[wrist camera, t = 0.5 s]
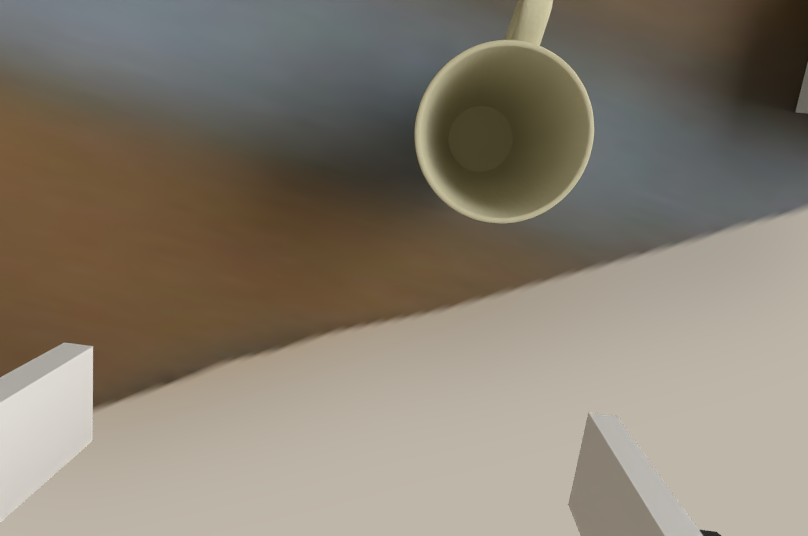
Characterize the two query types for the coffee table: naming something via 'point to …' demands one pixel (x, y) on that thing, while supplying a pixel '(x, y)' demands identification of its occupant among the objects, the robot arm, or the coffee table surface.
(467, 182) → the mug
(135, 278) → the coffee table surface
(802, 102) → the sleeve
